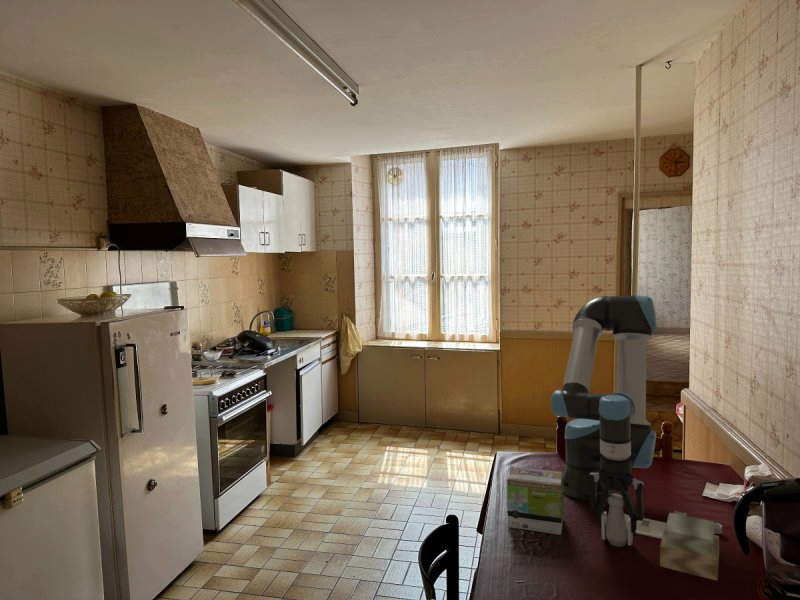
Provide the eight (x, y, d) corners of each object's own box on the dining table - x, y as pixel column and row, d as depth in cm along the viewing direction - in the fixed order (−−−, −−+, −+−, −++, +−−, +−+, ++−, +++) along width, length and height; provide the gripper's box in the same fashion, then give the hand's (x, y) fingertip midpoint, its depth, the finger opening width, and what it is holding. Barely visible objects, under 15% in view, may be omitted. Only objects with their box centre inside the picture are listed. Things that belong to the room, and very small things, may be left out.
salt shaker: (629, 539, 140) (628, 492, 139) (628, 550, 134) (628, 502, 133) (606, 535, 142) (605, 489, 141) (604, 546, 137) (603, 498, 136)
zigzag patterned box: (660, 566, 127) (659, 530, 126) (665, 542, 137) (665, 510, 136) (717, 580, 120) (717, 543, 120) (719, 555, 130) (718, 520, 130)
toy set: (672, 526, 146) (671, 513, 146) (675, 521, 149) (674, 509, 148) (721, 539, 138) (720, 525, 138) (723, 533, 140) (723, 520, 140)
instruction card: (618, 529, 145) (618, 527, 145) (624, 515, 152) (624, 513, 152) (666, 540, 138) (666, 538, 138) (670, 525, 146) (670, 523, 146)
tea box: (507, 529, 148) (505, 478, 147) (512, 512, 157) (510, 465, 156) (562, 536, 143) (561, 484, 142) (564, 518, 152) (562, 469, 151)
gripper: (575, 454, 138) (577, 537, 140) (652, 466, 128) (654, 556, 130) (582, 445, 145) (584, 525, 146) (656, 456, 134) (658, 542, 136)
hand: (617, 539), depth 138 cm, fingers closed on salt shaker, 6 cm apart
